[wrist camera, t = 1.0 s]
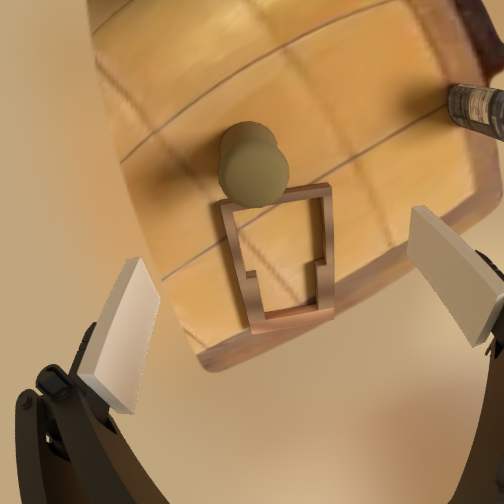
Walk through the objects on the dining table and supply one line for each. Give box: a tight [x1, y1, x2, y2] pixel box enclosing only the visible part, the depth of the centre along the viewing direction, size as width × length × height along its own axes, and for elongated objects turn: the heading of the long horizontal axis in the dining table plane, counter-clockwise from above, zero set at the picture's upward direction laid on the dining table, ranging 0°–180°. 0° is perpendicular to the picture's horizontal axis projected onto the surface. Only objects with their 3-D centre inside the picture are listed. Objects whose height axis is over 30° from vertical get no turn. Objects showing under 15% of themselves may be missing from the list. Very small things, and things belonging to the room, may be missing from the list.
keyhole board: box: [220, 182, 334, 334], centre depth 35 cm, size 20×12×2 cm, turn 10°
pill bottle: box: [447, 84, 504, 142], centre depth 20 cm, size 6×6×11 cm
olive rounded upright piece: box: [218, 121, 289, 208], centre depth 24 cm, size 6×6×11 cm
